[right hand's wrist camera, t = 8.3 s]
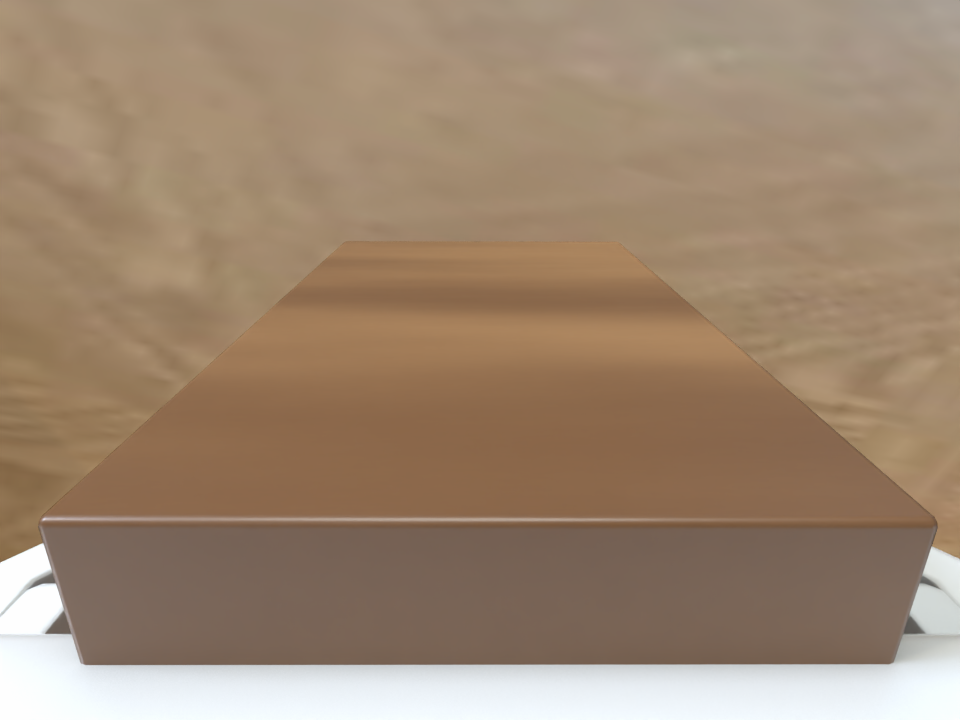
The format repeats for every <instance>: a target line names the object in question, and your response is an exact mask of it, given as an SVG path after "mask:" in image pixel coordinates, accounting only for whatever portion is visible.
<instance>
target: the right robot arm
mask: <svg viewBox="0 0 960 720" xmlns="http://www.w3.org/2000/svg"><path fill="white" fill-rule="evenodd" d="M0 720H960V559H959V558H956V557H954V556H952V555H950V554H947V553H945V552H943V551H941V550H939V549H936V548H934V547H931V550H930V553H929V556H928V559H927V562H926V565H925V568H924V571H923V574H922V577H921V580H920V584H919V587H918V590H917V593H916V596H915V599H914V602H913V605H912V608H911V611H910V614H909V617H908V620H907V623H906V626H905V629H904V632H903V636H902V639H901V642H900V645H899V648H898V651H897V654H896V657H895V660H894V662H893V663H891V664H702V665H84V664H81V663H80V660H79V657H78V653H77V650H76V647H75V644H74V641H73V637H72V634H71V631H70V628H69V624H68V621H67V618H66V615H65V612H64V608H63V605H62V602H61V599H60V595H59V592H58V589H57V586H56V582H55V579H54V576H53V573H52V570H51V566H50V563H49V560H48V557H47V553H46V550H45V547H44V544H43V543H42V544H40V545H38V546H36V547H33V548H31V549H29V550H27V551H25V552H22V553H20V554H18V555H16V556H14V557H11V558H9V559H7V560H5V561H3V562H1V563H0Z"/></svg>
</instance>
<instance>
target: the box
mask: <svg viewBox="0 0 960 720" xmlns="http://www.w3.org/2000/svg"><path fill="white" fill-rule="evenodd" d="M38 528H39V531H40V534H41V537H42V540H43V544H44V547H45V550H46V553H47V557H48V560H49V563H50V566H51V570H52V573H53V576H54V579H55V582H56V586H57V589H58V592H59V595H60V599H61V602H62V605H63V608H64V612H65V615H66V618H67V621H68V624H69V628H70V631H71V634H72V637H73V641H74V644H75V647H76V650H77V653H78V657H79V660H80V663H81V664H84V665H702V664H891V663H893V662H894V660H895V657H896V654H897V651H898V648H899V645H900V642H901V639H902V636H903V632H904V629H905V626H906V623H907V620H908V617H909V614H910V611H911V608H912V605H913V602H914V599H915V596H916V593H917V590H918V587H919V584H920V580H921V577H922V574H923V571H924V568H925V565H926V562H927V559H928V556H929V553H930V550H931V547H932V544H933V541H934V538H935V535H936V532H937V528H938V527H937V521H936V519H935V517H934V516H932V515H931V514H930V513H929V512H928V511H927V510H926V509H924V508H923V507H922V506H921V505H920V504H919V503H917V502H916V501H915V500H914V499H913V498H912V497H911V496H909V495H908V494H907V493H906V492H905V491H904V490H903V489H901V488H900V487H899V486H898V485H897V484H896V483H895V482H893V481H892V480H891V479H890V478H889V477H888V476H886V475H885V474H884V473H883V472H882V471H881V470H880V469H878V468H877V467H876V466H875V465H874V464H873V463H872V462H870V461H869V460H868V459H867V458H866V457H865V456H864V455H862V454H861V453H860V452H859V451H858V450H857V449H855V448H854V447H853V446H852V445H851V444H850V443H849V442H847V441H846V440H845V439H844V438H843V437H842V436H841V435H839V434H838V433H837V432H836V431H835V430H834V429H833V428H831V427H830V426H829V425H828V424H827V423H826V422H824V421H823V420H822V419H821V418H820V417H819V416H818V415H816V414H815V413H814V412H813V411H812V410H811V409H810V408H808V407H807V406H806V405H805V404H804V403H803V402H802V401H800V400H799V399H798V398H797V397H796V396H795V395H793V394H792V393H791V392H790V391H789V390H788V389H787V388H785V387H784V386H783V385H782V384H781V383H780V382H779V381H777V380H776V379H775V378H774V377H773V376H772V375H771V374H769V373H768V372H767V371H766V370H765V369H764V368H762V367H761V366H760V365H759V364H758V363H757V362H756V361H754V360H753V359H752V358H751V357H750V356H749V355H748V354H746V353H745V352H744V351H743V350H742V349H741V348H740V347H738V346H737V345H736V344H735V343H734V342H733V341H731V340H730V339H729V338H728V337H727V336H726V335H725V334H723V333H722V332H721V331H720V330H719V329H718V328H717V327H715V326H714V325H713V324H712V323H711V322H710V321H709V320H707V319H706V318H705V317H704V316H703V315H702V314H700V313H699V312H698V311H697V310H696V309H695V308H694V307H692V306H691V305H690V304H689V303H688V302H687V301H686V300H684V299H683V298H682V297H681V296H680V295H679V294H678V293H676V292H675V291H674V290H673V289H672V288H671V287H669V286H668V285H667V284H666V283H665V282H664V281H663V280H661V279H660V278H659V277H658V276H657V275H656V274H655V273H653V272H652V271H651V270H650V269H649V268H648V267H647V266H645V265H644V264H643V263H642V262H641V261H640V260H638V259H637V258H636V257H635V256H634V255H633V254H632V253H630V252H629V251H628V250H627V249H626V248H625V247H624V246H622V245H621V244H620V243H619V242H406V241H346V242H344V243H343V244H342V245H341V246H340V247H339V248H338V249H336V250H335V251H334V252H333V253H332V254H331V255H330V256H329V257H328V258H326V259H325V260H324V261H323V262H322V263H321V264H320V265H319V266H318V267H317V268H315V269H314V270H313V271H312V272H311V273H310V274H309V275H308V276H307V277H305V278H304V279H303V280H302V281H301V282H300V283H299V284H298V285H297V286H296V287H294V288H293V289H292V290H291V291H290V292H289V293H288V294H287V295H286V296H284V297H283V298H282V299H281V300H280V301H279V302H278V303H277V304H276V305H275V306H273V307H272V308H271V309H270V310H269V311H268V312H267V313H266V314H265V315H263V316H262V317H261V318H260V319H259V320H258V321H257V322H256V323H255V324H254V325H252V326H251V327H250V328H249V329H248V330H247V331H246V332H245V333H244V334H242V335H241V336H240V337H239V338H238V339H237V340H236V341H235V342H234V343H233V344H231V345H230V346H229V347H228V348H227V349H226V350H225V351H224V352H223V353H221V354H220V355H219V356H218V357H217V358H216V359H215V360H214V361H213V362H212V363H210V364H209V365H208V366H207V367H206V368H205V369H204V370H203V371H202V372H200V373H199V374H198V375H197V376H196V377H195V378H194V379H193V380H192V381H191V382H189V383H188V384H187V385H186V386H185V387H184V388H183V389H182V390H181V391H179V392H178V393H177V394H176V395H175V396H174V397H173V398H172V399H171V400H170V401H168V402H167V403H166V404H165V405H164V406H163V407H162V408H161V409H160V410H158V411H157V412H156V413H155V414H154V415H153V416H152V417H151V418H150V419H149V420H147V421H146V422H145V423H144V424H143V425H142V426H141V427H140V428H139V429H138V430H136V431H135V432H134V433H133V434H132V435H131V436H130V437H129V438H128V439H126V440H125V441H124V442H123V443H122V444H121V445H120V446H119V447H118V448H117V449H115V450H114V451H113V452H112V453H111V454H110V455H109V456H108V457H107V458H105V459H104V460H103V461H102V462H101V463H100V464H99V465H98V466H97V467H96V468H94V469H93V470H92V471H91V472H90V473H89V474H88V475H87V476H86V477H84V478H83V479H82V480H81V481H80V482H79V483H78V484H77V485H76V486H75V487H73V488H72V489H71V490H70V491H69V492H68V493H67V494H66V495H65V496H63V497H62V498H61V499H60V500H59V501H58V502H57V503H56V504H55V505H54V506H52V507H51V508H50V509H49V510H48V511H47V512H46V513H45V514H44V515H42V516H41V518H40V520H39V526H38Z"/></svg>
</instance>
